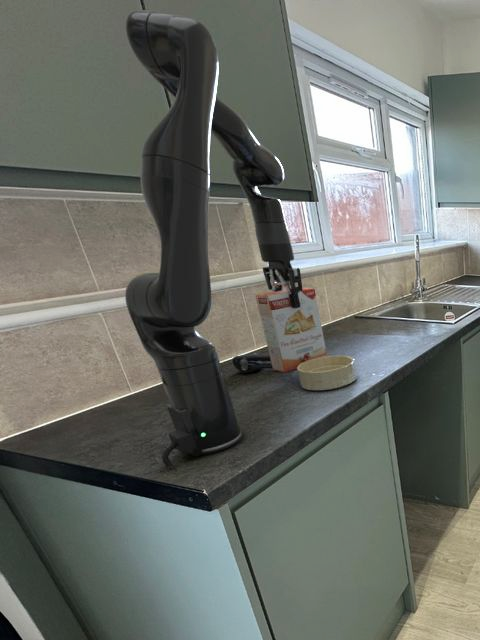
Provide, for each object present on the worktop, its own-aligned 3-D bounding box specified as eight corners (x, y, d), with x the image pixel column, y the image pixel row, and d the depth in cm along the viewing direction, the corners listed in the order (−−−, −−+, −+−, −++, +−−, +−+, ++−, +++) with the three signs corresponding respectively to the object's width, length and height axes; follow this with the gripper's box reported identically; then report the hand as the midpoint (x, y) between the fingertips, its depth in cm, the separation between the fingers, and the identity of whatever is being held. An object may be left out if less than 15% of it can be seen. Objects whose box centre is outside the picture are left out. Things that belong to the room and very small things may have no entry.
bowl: (322, 396, 105) (318, 375, 103) (290, 386, 112) (286, 367, 110) (367, 378, 116) (364, 360, 114) (336, 370, 123) (332, 352, 121)
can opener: (231, 376, 121) (225, 358, 119) (241, 369, 127) (236, 351, 125) (295, 372, 123) (291, 354, 121) (302, 364, 129) (298, 347, 127)
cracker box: (286, 373, 112) (267, 295, 104) (272, 370, 114) (253, 294, 107) (329, 358, 123) (315, 287, 116) (315, 356, 126) (301, 286, 118)
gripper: (304, 241, 106) (317, 306, 112) (273, 241, 113) (287, 302, 119) (275, 242, 100) (290, 311, 106) (245, 242, 107) (261, 307, 114)
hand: (289, 306), depth 113 cm, fingers closed on cracker box, 6 cm apart
